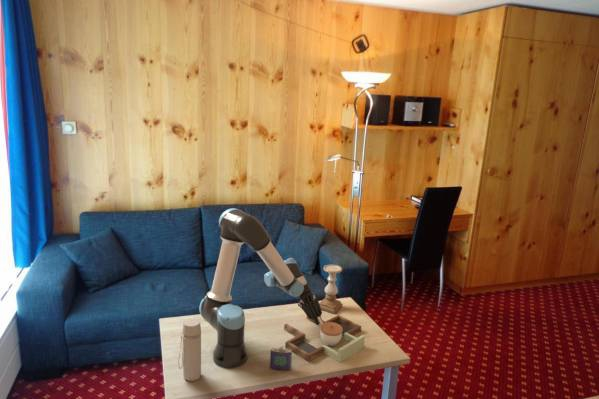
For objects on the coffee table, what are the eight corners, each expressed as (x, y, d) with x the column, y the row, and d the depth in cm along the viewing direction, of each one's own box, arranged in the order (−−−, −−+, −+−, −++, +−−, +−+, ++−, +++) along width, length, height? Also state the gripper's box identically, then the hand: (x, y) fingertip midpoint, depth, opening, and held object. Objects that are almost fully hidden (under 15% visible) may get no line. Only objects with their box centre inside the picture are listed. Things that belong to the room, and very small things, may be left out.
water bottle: (199, 369, 190) (199, 316, 184) (202, 380, 183) (202, 325, 177) (177, 373, 187) (176, 319, 181) (179, 384, 180) (178, 329, 174)
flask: (291, 367, 195) (292, 345, 193) (290, 371, 192) (291, 349, 190) (270, 365, 196) (271, 344, 193) (269, 370, 193) (270, 347, 190)
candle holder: (334, 314, 242) (337, 273, 237) (316, 308, 248) (319, 268, 242) (342, 306, 252) (346, 267, 246) (325, 301, 257) (328, 262, 251)
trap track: (268, 337, 217) (269, 326, 216) (321, 311, 245) (322, 301, 243) (324, 372, 193) (325, 359, 192) (376, 339, 221) (377, 328, 219)
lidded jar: (339, 336, 222) (340, 319, 219) (343, 348, 211) (345, 331, 209) (317, 335, 220) (319, 318, 218) (320, 348, 210) (322, 330, 208)
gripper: (305, 286, 233) (327, 327, 227) (287, 293, 224) (310, 337, 218) (313, 280, 229) (336, 322, 222) (296, 287, 219) (319, 332, 213)
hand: (323, 329), depth 220 cm, fingers closed
